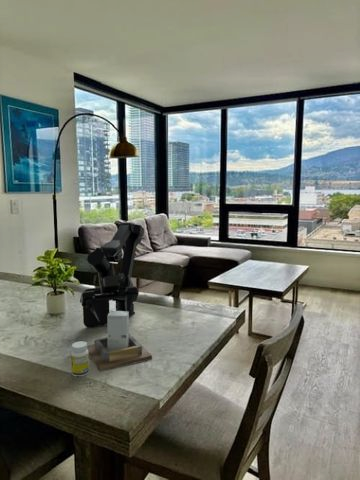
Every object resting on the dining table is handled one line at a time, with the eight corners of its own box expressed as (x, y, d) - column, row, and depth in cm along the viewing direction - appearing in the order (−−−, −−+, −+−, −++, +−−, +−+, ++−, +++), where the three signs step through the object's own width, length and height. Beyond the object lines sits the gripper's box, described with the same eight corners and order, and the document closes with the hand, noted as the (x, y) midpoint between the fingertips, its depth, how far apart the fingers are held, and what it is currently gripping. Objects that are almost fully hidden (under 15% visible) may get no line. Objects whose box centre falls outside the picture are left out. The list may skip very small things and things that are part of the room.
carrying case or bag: (81, 330, 129) (80, 291, 127) (80, 327, 132) (78, 288, 130) (110, 325, 134) (109, 287, 131) (108, 322, 136) (107, 285, 134)
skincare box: (107, 353, 109) (106, 315, 107) (110, 346, 114) (109, 310, 112) (127, 353, 109) (126, 315, 107) (129, 347, 113) (129, 310, 112)
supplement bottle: (73, 368, 102) (72, 340, 101) (90, 368, 102) (89, 340, 101) (70, 377, 97) (68, 348, 96) (87, 376, 98) (86, 347, 96)
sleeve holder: (85, 349, 114) (85, 338, 114) (132, 339, 122) (132, 329, 121) (100, 371, 100) (99, 359, 100) (152, 358, 108) (151, 347, 107)
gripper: (80, 267, 115) (85, 311, 106) (137, 263, 121) (146, 304, 113) (79, 285, 123) (83, 327, 115) (132, 280, 130) (140, 319, 121)
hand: (114, 319), depth 116 cm, fingers open, 9 cm apart
